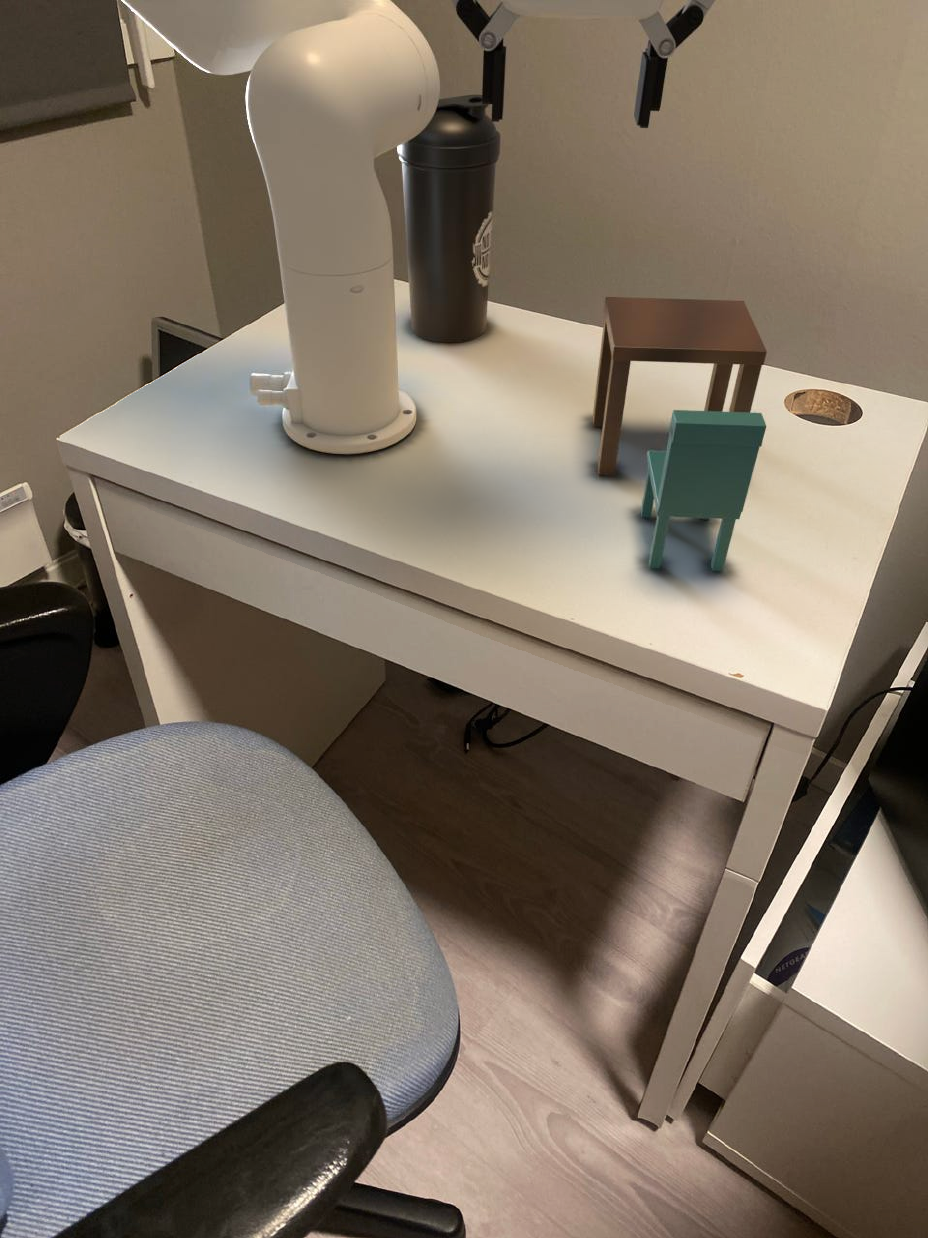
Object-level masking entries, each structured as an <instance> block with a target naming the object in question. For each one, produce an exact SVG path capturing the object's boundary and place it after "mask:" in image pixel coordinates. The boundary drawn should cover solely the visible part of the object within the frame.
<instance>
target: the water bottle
mask: <svg viewBox="0 0 928 1238" xmlns="http://www.w3.org/2000/svg"><path fill="white" fill-rule="evenodd" d="M489 106H490V104H482V94H466V95H459V96H451V97H446V98H439V101H438V105H437V108H436V111H435V113H434V115H433V117H432V119H431V121H430V122H429V123H428V125H427V126H426V127H425V128H424V129H423V130H422V131H421V132H420V133H419V134H418V135H417V136H415V137H414V138H412V139H410V140H409V141H407V142H405V143H403V144H402V145H400V146H397V147H396V148H397V150H396V151H397V155H398V159H399V161H400V162H401V173H402V189H403V205H404V206H403V207H404V219H405V220H404V223H405V224H404V225H405V239H406V241H405V242H406V254H407V255H406V257H407V258H406V259H407V272H408V273H407V274H408V275H407V276H408V293H409V307H410V308H409V309H410V321H411V323H410V326H411V331H412V332H413V333H414V334H415V335H417V336H418V337H420V338H421V339H424V340H427V341H431V342H435V343H442V344H444V343H445V344H450V343H452V344H453V343H454V344H455V343H464V342H468V341H472V340H474V339H475V340H476V339H477V338H479V337H481V336H482V335H483V334H484V333H485V332H486V330H487V319H488V318H487V317H488V301H489V299H488V298H489V285H490V284H489V283H490V274H491V259H492V258H491V257H492V242H493V241H492V238H493V225H494V223H493V222H494V201H495V200H494V197H495V181H496V165H497V162H498V160H499V156H500V154H501V133H500V132H499V131H498V130H497V128H496V125H495V123H494V122H492V118H491V117H490V116H489V115H488V114H486V112H487V111H486V109H487V108H488V107H489Z"/></svg>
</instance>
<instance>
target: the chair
mask: <svg viewBox="0 0 928 1238" xmlns="http://www.w3.org/2000/svg"><path fill="white" fill-rule="evenodd" d="M766 430H767V424H766V421H765V419H764V416H763V414H762V412H750V413H748V412H729V411H722V412H719V411H704V410H688V409H687V410H686V409H673V410H672V413H671V419H670V424H669V430H668V431H669V436H668V440H667V446H666V450H647V453H646V462H647V463H646V464H647V472H646V477H645V483H644V489H643V493H642V494H643V495H642V500H641V505H640V517H641V518H651V517H652V512H653V506H655V510H656V512H655V513H656V520H655V526H654V531H653V536H652V542H651V548H650V553H649V558H648V567H649V569H656V570H657V569H658V570H659V569H660V568H661V565H662V559H663V555H664V549H665V544H666V539H667V533H668V528H669V524H670V520H671V519H670V518H687V519H688V518H691V519H699V520H704V521H705V520H706V521H708V520H710V519H716V520H717V519H718V520H721V521H720V526H719V529H718V533H717V538H716V541H715V547H714V550H713V555H712V559H711V561H710V562H711V563H710V567H711V571H712V572H723V570H724V567H725V563H726V560H727V555H728V551H729V548H730V544H731V540H732V536H733V533H734V528H735V524H736V520H740V518H741V515H742V513H743V511H744V508H745V504H746V501H747V496H748V492H749V488H750V484H751V481H752V477H753V473H754V469H755V466H756V462H757V459H758V454H759V452H760V451H759V450H760V448H761V447H762V445H763V441H764V438H765V433H766Z"/></svg>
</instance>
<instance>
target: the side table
mask: <svg viewBox="0 0 928 1238" xmlns="http://www.w3.org/2000/svg"><path fill="white" fill-rule="evenodd" d="M603 311H604V318H603V325H602V334H601V344H600V352H599V360H598V369H597V377H596V386H595V395H594V402H593V410H592V411H593V412H592V427H594V428H602V429H601V435H600V436H601V437H600V444H599V453H598V460H597V471H598V472H597V473H598V474H597V475H598V476H608V477H611V476H612V477H615V475H616V467H617V460H618V452H619V446H620V439H621V433H622V426H623V419H624V411H625V403H626V398H627V392H628V385H629V384H628V383H629V377H630V369H631V363H632V362H650V363H652V362H653V363H677V364H678V363H680V364H681V363H683V364H711V365H712V364H713V366H712V371H711V376H710V381H709V386H708V391H707V395H706V399H705V405H704V410H703V411H719V412H724V406H725V403H726V398H727V393H728V389H729V385H730V380H731V376H732V371H733V367H734V365H739V367H738V371H737V374H736V379H735V383H734V388H733V392H732V397H731V401H730V405H729V410H728V412H748V413H751V411H752V407H753V403H754V399H755V396H756V391H757V387H758V382H759V379H760V374H761V371H762V366H764V365H765V362H766V357H767V353H768V351H767V348H766V347H765V344H764V342H763V340H762V338H761V336H760V334H759V331H758V329H757V327H756V324H755V322H754V320H753V318H752V315H751V313H750V312H749V309H748V306H747V305H746V302H745V300H728V299H727V300H726V299H724V300H723V299H697V298H696V299H695V298H694V299H693V298H665V297H664V298H661V297H629V296H628V297H623V296H605V298H604V306H603Z"/></svg>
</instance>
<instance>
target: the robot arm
mask: <svg viewBox="0 0 928 1238" xmlns="http://www.w3.org/2000/svg"><path fill="white" fill-rule="evenodd" d="M121 1H122V2H123V4H125V5H126V6H127V7H128V8H129V9H130V10H131V11H132V12H134V13H135V14H136V15H137V16H138V17H139V18H140V19H141V20H142V21H143V22H145V23H146V24H147V25H148V26H149V27H150V28H151V29H152V30H154V31H155V32H156V33H157V34H158V35H159V36H160V37H161V38H162V39H164V40H165V41H166V42H167V43H168V44H169V45H170V46H171V47H172V48H173V49H174V50H176V51H177V52H178V53H179V54H180V55H181V56H183V57H184V58H185V59H186V60H187V61H189V62H190V63H191V64H193V65H194V66H195V67H197V68H199V70H201V71H204V72H206V73H209V74H213V75H217V76H233V75H236V74H242V73H247V72H250V74H249V77H248V80H247V84H246V91H245V106H246V107H245V108H246V117H247V121H248V126H249V130H250V133H251V137H252V141H253V144H254V146H255V150H256V153H257V156H258V159H259V162H260V163H259V164H260V166H261V169H262V172H263V177H264V180H265V184H266V188H267V193H268V197H269V203H270V209H271V213H272V219H273V226H274V227H273V228H274V233H275V241H276V249H277V255H278V256H277V257H278V261H279V262H278V263H279V269H280V278H281V286H282V291H283V292H282V293H283V301H284V309H285V318H286V325H287V332H288V333H287V334H288V340H289V348H290V356H291V357H290V358H291V364H292V371H284V373H283V375H279V374H278V375H277V374H276V375H274V374H270V373H252V374H251V375H250V378H249V386H250V387H249V388H250V392H251V394H252V395H255V396H257V403H258V405H259V406H283V409H282V414H281V418H282V425H283V429H284V432H285V433H286V435H287V436H288V437H289V438H290V439H291V440H292V441H293V442H295V443H297V444H299V445H300V446H302V447H304V448H307V449H309V450H313V451H315V452H320V453H327V454H334V455H335V454H336V455H355V454H364V453H369V452H370V453H371V452H374V451H375V452H376V451H377V450H382V449H385V448H388V447H390V446H393V445H395V444H396V443H398V442H400V441H402V440H403V439H404V438H405V437H407V435H409V434H410V433H412V430H413V429H414V427H415V426H416V422H417V407H416V403H415V402H414V400H413V398H412V397H411V396H409V394H407V393H406V392H405V391H403V390H401V389H400V387H399V365H398V364H399V363H398V340H397V339H398V338H397V320H396V319H397V317H396V292H395V271H394V270H395V268H394V249H393V247H394V246H393V232H392V231H393V229H392V222H391V215H390V212H389V208H388V204H387V201H386V200H387V199H386V198H385V195H384V192H383V190H382V187H381V184H380V181H379V179H378V176H377V173H376V169H375V159H376V158H378V157H379V156H381V155H382V154H385V153H386V152H389V151H391V150H393V149H395V148H397V146H400V145H402V144H403V143H405V142H407V141H409V140H410V139H412V138H414V137H415V136H417V135H418V134H419V133H420V132H421V131H422V130H423V129H424V128H425V127H426V126H427V125H428V123H429V122H430V121H431V119H432V117H433V115H434V113H435V111H436V108H437V105H438V101H439V99H440V95H441V94H440V93H441V79H440V71H439V67H438V62H437V60H436V57H435V54H434V52H433V50H432V47H431V46H430V44H429V41H428V40H427V39H426V37H425V36H424V34H423V33H422V31H421V30H420V29H419V27H418V26H417V25H416V24H415V23H414V22H413V21H412V19H410V17H409V16H408V15H407V14H406V13H405V12H403V10H401V9H400V8H399V7H398V6H397V5H396V4H395V3H394V2H393V1H392V0H121ZM451 1H452V3H453V6H454V8H455V12H456V15H457V17H458V18H459V19H460V20H461V22H462V23H463V24H464V26H465V27H466V28H467V29H468V30H469V32H470V33H471V34H472V36H473V37H474V38H475V39H476V41H477V42H478V44H479V46H480V48H481V49H482V50H483V56H482V58H483V59H482V88H481V95H482V104H489V105H491V120H492V122H493V123H494V122H495V123H500V120H501V121H502V120H503V117H504V107H505V105H504V103H505V84H506V83H505V82H506V63H507V61H506V60H507V46H505V45H504V37H505V36H506V35H507V34H508V33H509V31H510V30H511V29H512V27H513V26H514V25H515V24H516V22H517V21H518V19H519V18H520V17H527V18H540V19H559V20H560V19H561V20H562V19H563V20H583V21H585V20H586V21H588V20H589V21H614V22H616V21H617V22H618V21H619V22H634V21H635V22H636V21H638V22H639V24H640V26H641V28H642V29H643V31H644V33H645V34H646V36H647V38H648V40H647V45H646V46H647V47H646V48H645V51H642V53H641V58H640V65H639V74H638V79H637V80H638V81H637V87H636V97H635V103H634V112H633V118H634V121H635V124H636V126H638V127H639V128H640V129H648V128H649V127H650V126H649V124H650V118H651V114H652V113H651V112H660V111H661V106H662V101H663V94H664V88H665V87H664V86H665V82H666V81H665V79H666V74H667V69H668V60H669V58H670V57H672V56H673V55H674V53H675V51H676V49H678V47H680V45H682V43H684V41H686V40H687V39H688V38H689V37H690V36H691V35H692V34H693V33H694V32H695V31H696V30H698V28H700V26H701V25H702V24H703V22H704V18H705V16H706V15H707V13H708V12H709V11H710V10H711V8H712V6H713V5H714V3H715V2H716V0H688V1H687V2H686V4H684V5H683V7H681V8H680V9H679V10H678V11H677V12H676V13H675V14H674V15H673V16H672V17H671V18H670V19H669V20H668V21H667V22H666V21H665V20H664V18H663V17H662V15H661V13H660V9H661V8H662V5H663V3H664V0H500V2H499V3H498V5H497V6H496V7H495V9H494V10H493V11H492V12H491V14H490V15H489V14H488V13H487V12H486V10H485V9H484V8H483V6H482V5H481V4H480V3H479V2H478V0H451Z"/></svg>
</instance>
